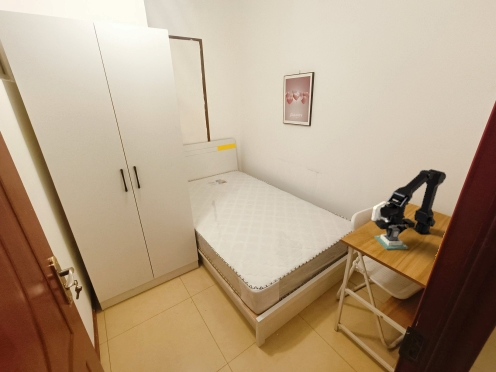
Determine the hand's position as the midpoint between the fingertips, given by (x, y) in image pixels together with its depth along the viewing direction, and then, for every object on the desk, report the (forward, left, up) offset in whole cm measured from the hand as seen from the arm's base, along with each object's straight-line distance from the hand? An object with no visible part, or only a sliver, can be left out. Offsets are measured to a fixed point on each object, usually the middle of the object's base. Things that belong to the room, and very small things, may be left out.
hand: (391, 236), depth 125 cm
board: (0, 0, -4) cm, 4 cm away
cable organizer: (-10, -23, -4) cm, 25 cm away
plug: (0, 0, -2) cm, 2 cm away
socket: (0, 0, -4) cm, 4 cm away
